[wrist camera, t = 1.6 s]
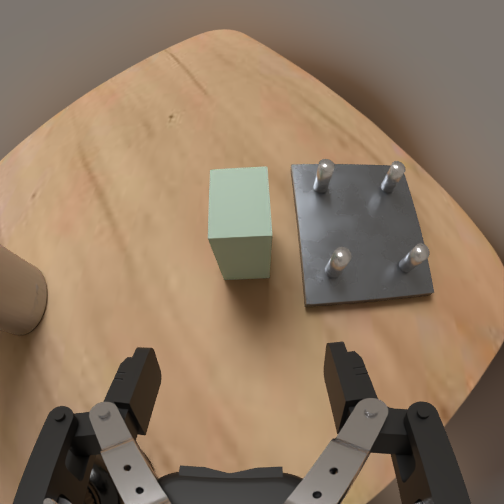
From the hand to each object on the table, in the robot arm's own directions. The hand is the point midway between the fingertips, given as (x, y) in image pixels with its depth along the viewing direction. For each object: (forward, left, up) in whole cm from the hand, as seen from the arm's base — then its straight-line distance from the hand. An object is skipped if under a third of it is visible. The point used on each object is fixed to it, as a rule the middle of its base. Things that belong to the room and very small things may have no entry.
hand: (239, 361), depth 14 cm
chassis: (+10, +15, -15) cm, 24 cm away
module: (-2, +11, -15) cm, 19 cm away
